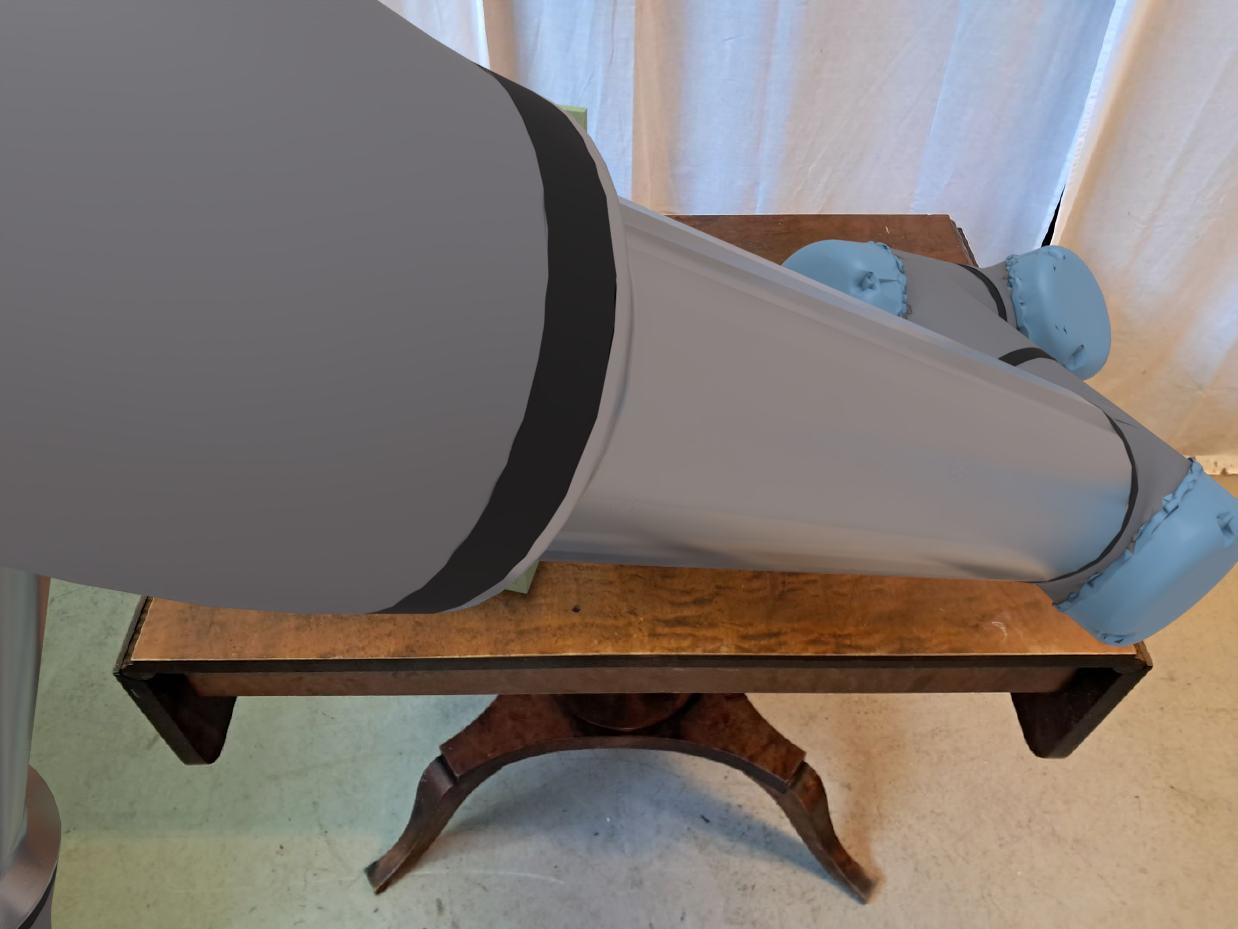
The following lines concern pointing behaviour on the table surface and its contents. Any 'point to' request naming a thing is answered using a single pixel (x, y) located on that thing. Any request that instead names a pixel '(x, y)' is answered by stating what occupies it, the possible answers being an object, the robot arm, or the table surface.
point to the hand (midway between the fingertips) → (631, 464)
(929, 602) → the table surface
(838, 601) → the table surface
